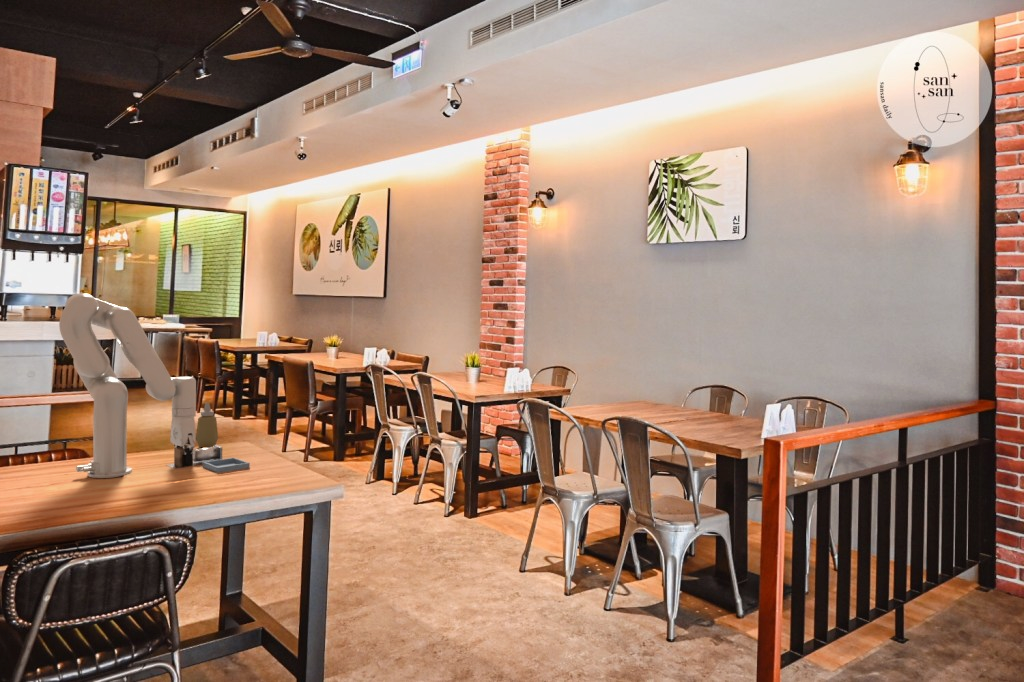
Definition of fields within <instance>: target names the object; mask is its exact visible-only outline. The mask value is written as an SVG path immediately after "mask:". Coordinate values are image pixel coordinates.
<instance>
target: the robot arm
mask: <svg viewBox="0 0 1024 682" xmlns="http://www.w3.org/2000/svg"><path fill="white" fill-rule="evenodd" d="M92 325H94V326H97V327H100V328H103V329H107V330H110V331H111V333H112V335H113V337H114V338H115V339H116V341H117V343H118V345H119V347H120V349H121V351H122V352H123V353H124V356H125V357H126V359H127V360H128V361H129V362H130V364H131V365H132V366H134V368H135V369H136V370H137V371H138V373H139V374H140V375H141V377H142V379H143V380H144V382H145V383H146V384H145V391H146V393H147V395H149V396H150V397H152V398H153V399H155V400H157V401H160V402H168V401H169V400H171V425H170V437H169V438H170V439H169V440H170V441H169V442H170V443H171V444H172V445H174V448H175V447H183V455H182V466H189V465H192V454H193V450H194V449H195V447H196V446H195V445H196V420H195V417H196V416H197V411H196V410H197V380H196V378H195V377H194V376H177V377H172V376H171V374H170V373H169V371H168V370H167V368H166V366H165V365H164V363H163V361H162V360H161V358H160V357H159V354H158V353H157V351H156V350H155V348H154V346H153V345H152V343H151V341H150V339H149V338H148V336H147V334H146V332H145V331H144V329H143V327H142V325H141V323H140V322H139V320H138V318H137V316H136V315H135V313H134V311H133V310H131V309H130V308H128V307H125V306H118V305H116V304H113V303H109V302H107V301H103V300H100V299H99V298H95V297H94V296H93V295H91V294H89V293H75V294H73V295H71V296H69V297H68V299H67V300H66V301H65V306H64V309H62V311H61V314H60V318H59V327H58V328H59V332H60V335H61V338H62V339H63V342H64V343H65V345H66V349H68V351H69V353H70V355H71V357H72V358H73V359H72V360H73V367H74V369H75V371H76V373H77V374H78V376H79V378H80V380H81V381H82V383H83V385H84V386H85V388H86V390H87V392H88V393H89V395H90V397H91V398H92V399H93V417H92V419H93V420H92V430H93V432H92V434H93V436H92V437H93V441H92V443H93V444H92V446H93V452H92V453H93V454H92V455H93V458H92V460H90V463H87V464H85V465H77V466H75V471H76V473H80V472H81V473H82V472H83V473H86V472H87V476H88V477H89V478H93V479H112V478H118V477H119V478H120V477H125V475H129V474H131V473H132V472H133V468H132V467H129V466H127V464H128V462H127V459H128V458H127V454H128V452H127V449H128V448H127V447H128V446H127V443H128V442H127V440H128V438H127V435H128V433H127V432H128V428H127V427H128V425H127V424H128V423H127V422H128V421H127V419H128V418H127V417H128V405H129V403H128V402H129V391H128V389H127V388H128V387H127V386H126V384H124V382H123V381H121V380H119V379H118V377H117V375H116V373H115V371H114V369H113V367H112V366H111V360H110V358H109V356H108V355H107V353H106V352H105V351H104V349H103V347H102V345H101V344H100V342H99V340H98V338H97V336H96V334H95V332H94V330H93V327H92ZM186 447H188V448H187V449H186ZM189 467H190V466H189Z"/></svg>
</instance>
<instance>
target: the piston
mask: <svg viewBox="0 0 1024 682" xmlns="http://www.w3.org/2000/svg"><path fill="white" fill-rule="evenodd" d="M212 459H218V460H221V459H223V447H222V446H220V445H217V444H216V445H214V447H209V448H194V449H193V461H194V462H198V461H205V460H212Z"/></svg>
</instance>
